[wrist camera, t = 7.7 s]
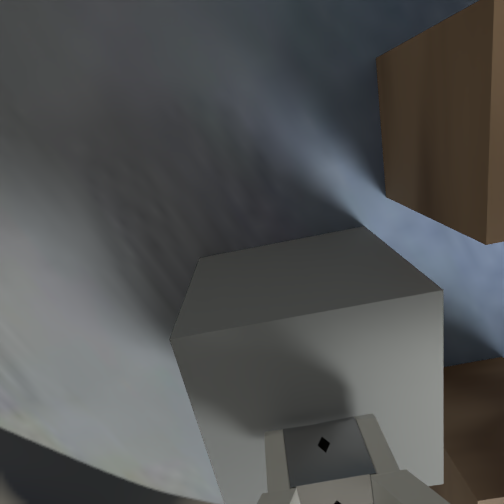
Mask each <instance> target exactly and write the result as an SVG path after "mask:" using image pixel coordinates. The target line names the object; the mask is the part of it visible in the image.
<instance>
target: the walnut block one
mask: <svg viewBox="0 0 504 504" xmlns="http://www.w3.org/2000/svg"><path fill="white" fill-rule="evenodd" d="M376 67H377V80H378V94H379V107H380V121H381V135H382V148H383V162H384V175H385V189H386V197H387V198H389V199H391V200H393V201H395V202H398V203H400V204H402V205H404V206H406V207H408V208H410V209H412V210H414V211H416V212H418V213H421V214H423V215H425V216H427V217H429V218H431V219H433V220H435V221H437V222H439V223H441V224H444V225H446V226H448V227H450V228H452V229H454V230H456V231H458V232H460V233H462V234H464V235H466V236H469V237H471V238H473V239H475V240H477V241H479V242H481V243H483V244H485V245H488V244H493V243H498V242H503V241H504V0H479V1H478V2H476V3H474V4H472V5H470V6H469V7H467V8H465V9H463V10H461V11H460V12H458V13H456V14H454V15H452V16H451V17H449V18H447V19H445V20H443V21H442V22H440V23H438V24H436V25H434V26H433V27H431V28H429V29H427V30H426V31H424V32H422V33H420V34H418V35H417V36H415V37H413V38H411V39H409V40H408V41H406V42H404V43H402V44H400V45H399V46H397V47H395V48H393V49H391V50H390V51H388V52H386V53H384V54H382V55H381V56H379V57H377V58H376Z"/></svg>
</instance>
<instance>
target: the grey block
mask: <svg viewBox="0 0 504 504" xmlns="http://www.w3.org/2000/svg"><path fill="white" fill-rule="evenodd" d="M170 342H171V345H172V348H173V351H174V354H175V357H176V360H177V363H178V366H179V369H180V372H181V375H182V378H183V381H184V384H185V387H186V390H187V393H188V396H189V399H190V402H191V405H192V408H193V411H194V414H195V417H196V420H197V423H198V426H199V429H200V432H201V435H202V438H203V441H204V444H205V447H206V450H207V453H208V456H209V459H210V462H211V465H212V468H213V471H214V474H215V477H216V480H217V483H218V486H219V489H220V492H221V495H222V498H223V501H224V504H257V502H258V500H259V498H260V496H261V495H262V493H267V492H268V490H267V474H266V458H265V442H264V436H265V432H269V431H275V430H281V429H286V428H293V427H300V426H307V425H313V424H318V423H322V422H327V421H332V420H338V419H343V418H348V417H355V416H360V415H366V414H371V413H372V414H373V415H374V416H375V417H376V419H377V421H378V423H379V426H380V428H381V430H382V432H383V434H384V436H385V438H386V441H387V443H388V445H389V447H390V449H391V451H392V454H393V456H394V458H395V460H396V462H397V464H398V467H399V469H400V470H405V469H406V470H408V471H409V472H410V473H412V474H413V475H414V476H415V477H417V478H418V479H419V480H421V481H422V482H423V483H424V484H426V485H427V486H434V485H441V484H444V442H443V289H441V288H440V287H439V286H438V285H436V284H435V283H434V282H433V281H432V280H430V279H429V278H428V277H427V276H425V275H424V274H423V273H422V272H420V271H419V270H418V269H417V268H415V267H414V266H413V265H412V264H410V263H409V262H408V261H407V260H406V259H404V258H403V257H402V256H401V255H399V254H398V253H397V252H396V251H394V250H393V249H392V248H391V247H389V246H388V245H387V244H386V243H385V242H383V241H382V240H381V239H380V238H378V237H377V236H376V235H375V234H373V233H372V232H371V231H370V230H368V229H367V228H366V227H365V226H363V227H357V228H352V229H347V230H342V231H337V232H331V233H326V234H321V235H316V236H311V237H306V238H300V239H295V240H290V241H285V242H280V243H274V244H269V245H264V246H259V247H254V248H248V249H243V250H238V251H233V252H228V253H223V254H217V255H212V256H207V257H202V258H199V261H198V264H197V266H196V269H195V272H194V275H193V277H192V280H191V283H190V285H189V288H188V291H187V293H186V296H185V299H184V302H183V304H182V307H181V310H180V312H179V315H178V318H177V320H176V323H175V326H174V329H173V331H172V334H171V337H170Z"/></svg>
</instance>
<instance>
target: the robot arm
mask: <svg viewBox="0 0 504 504" xmlns="http://www.w3.org/2000/svg"><path fill="white" fill-rule="evenodd" d="M264 442H265V458H266V474H267V490H268V492H267V493H262V495H261V496H260V498H259V500H258V502H257V504H450V503H449V502H448V501H446V500H445V499H444V498H443V497H441V496H440V495H439V494H437V493H436V492H435V491H434V490H432V489H431V488H430V487H428V486H427V485H426V484H424V483H423V482H422V481H421V480H419V479H418V478H417V477H415V476H414V475H413V474H412V473H410V472H409V471H408V470H406V469H405V470H400V469H399V467H398V464H397V462H396V460H395V458H394V456H393V454H392V451H391V449H390V447H389V445H388V443H387V441H386V438H385V436H384V434H383V432H382V430H381V428H380V426H379V423H378V421H377V419H376V417H375V416H374V415H373V414H372V413H371V414H366V415H360V416H355V417H348V418H343V419H338V420H332V421H327V422H322V423H318V424H313V425H307V426H300V427H293V428H286V429H281V430H275V431H269V432H265V436H264Z"/></svg>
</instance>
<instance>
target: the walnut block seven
mask: <svg viewBox="0 0 504 504" xmlns="http://www.w3.org/2000/svg"><path fill="white" fill-rule="evenodd" d="M443 442H444V484H441V485H434V486H428V487H430V488H431V489H432V490H434V491H435V492H436V493H437V494H439V495H440V496H441V497H443V498H444V499H445V500H446V501H448V502H449V503H450V504H504V358H503V357H498V358H493V359H487V360H481V361H475V362H470V363H464V364H458V365H453V366H447V367H443Z"/></svg>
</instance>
